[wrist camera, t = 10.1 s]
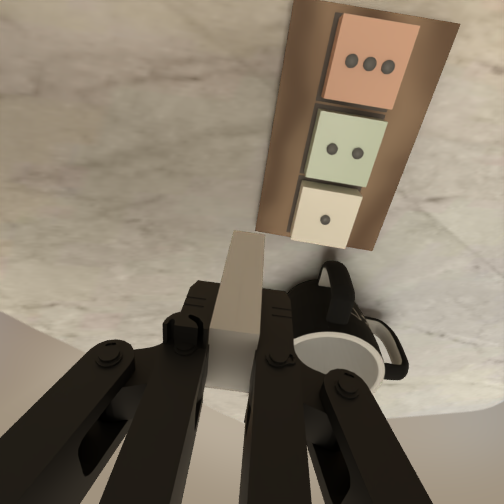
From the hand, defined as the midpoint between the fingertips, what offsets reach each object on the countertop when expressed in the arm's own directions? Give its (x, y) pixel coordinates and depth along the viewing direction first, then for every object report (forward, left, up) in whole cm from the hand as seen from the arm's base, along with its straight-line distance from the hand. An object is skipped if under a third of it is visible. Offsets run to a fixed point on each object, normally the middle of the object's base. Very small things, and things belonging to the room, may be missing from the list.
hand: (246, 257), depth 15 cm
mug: (+10, -19, -22) cm, 31 cm away
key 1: (+7, -4, -20) cm, 22 cm away
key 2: (+7, +3, -20) cm, 21 cm away
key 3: (+7, +10, -20) cm, 23 cm away
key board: (+7, +3, -22) cm, 23 cm away
